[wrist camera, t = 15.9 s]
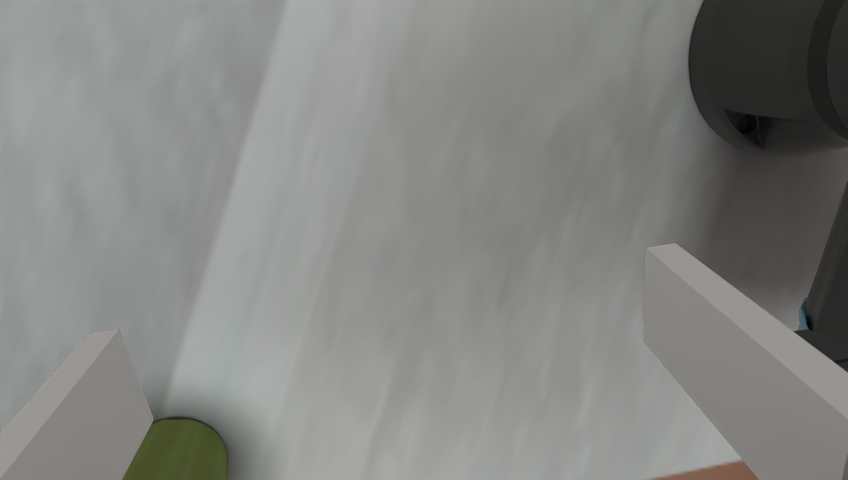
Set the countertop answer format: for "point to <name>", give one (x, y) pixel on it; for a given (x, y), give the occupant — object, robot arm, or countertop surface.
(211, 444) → the plant pot
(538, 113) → the countertop surface
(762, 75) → the robot arm
